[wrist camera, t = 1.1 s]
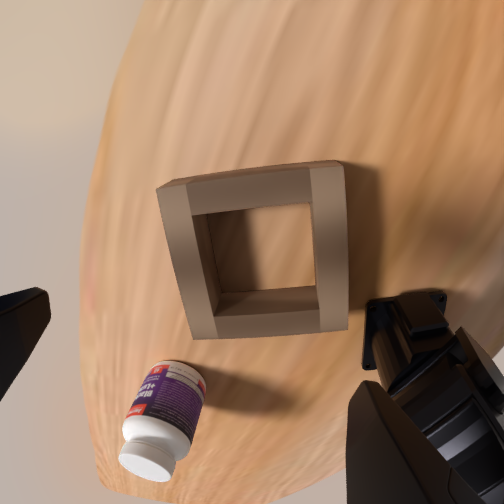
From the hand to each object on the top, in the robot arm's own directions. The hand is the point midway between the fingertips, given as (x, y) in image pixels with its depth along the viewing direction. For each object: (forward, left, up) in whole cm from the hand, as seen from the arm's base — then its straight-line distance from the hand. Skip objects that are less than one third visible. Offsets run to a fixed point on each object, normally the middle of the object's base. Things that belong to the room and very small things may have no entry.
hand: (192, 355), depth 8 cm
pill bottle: (-14, +8, -14) cm, 21 cm away
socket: (-2, -1, -13) cm, 13 cm away
